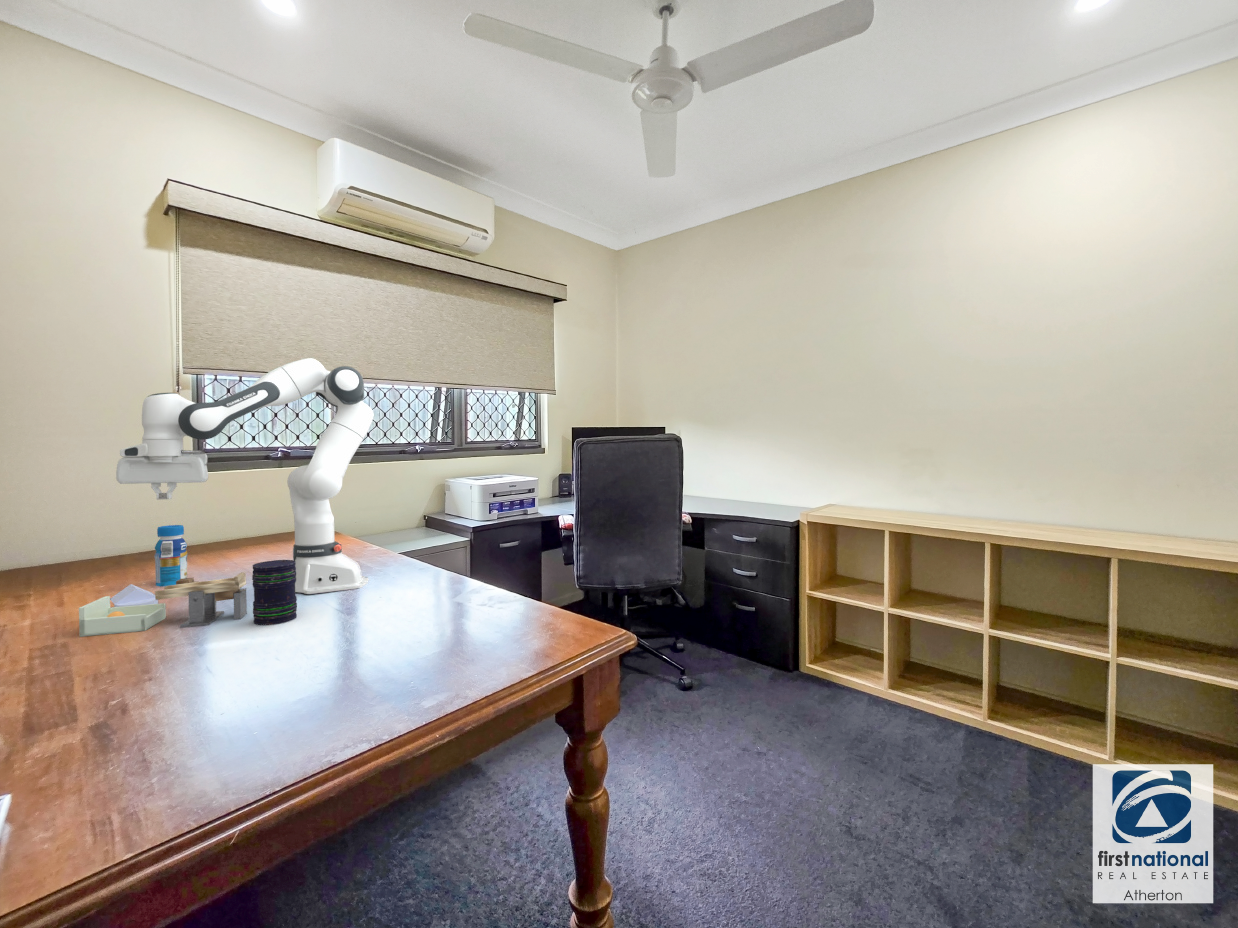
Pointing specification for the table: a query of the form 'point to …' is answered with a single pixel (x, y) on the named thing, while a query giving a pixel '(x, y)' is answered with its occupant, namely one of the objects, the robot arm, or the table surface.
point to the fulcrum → (212, 608)
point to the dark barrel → (274, 592)
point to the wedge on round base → (133, 597)
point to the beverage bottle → (170, 555)
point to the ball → (116, 614)
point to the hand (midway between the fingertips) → (164, 499)
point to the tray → (118, 617)
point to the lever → (204, 588)
